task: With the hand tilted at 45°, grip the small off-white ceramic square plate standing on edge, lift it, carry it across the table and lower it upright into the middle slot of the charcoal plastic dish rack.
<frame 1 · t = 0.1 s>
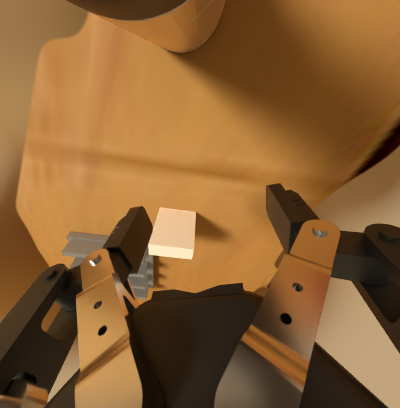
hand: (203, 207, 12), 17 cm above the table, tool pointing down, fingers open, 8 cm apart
dish rack: (118, 260, 45), on the table
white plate: (177, 214, 35), on the table
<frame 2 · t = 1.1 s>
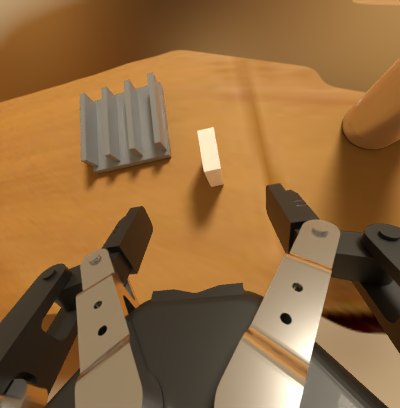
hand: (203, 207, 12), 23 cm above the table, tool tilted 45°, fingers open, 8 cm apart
dish rack: (130, 130, 42), on the table
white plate: (214, 169, 36), on the table
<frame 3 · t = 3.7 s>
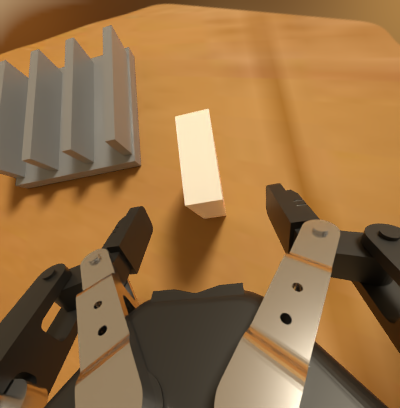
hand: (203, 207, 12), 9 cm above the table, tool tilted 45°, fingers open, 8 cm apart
dish rack: (82, 121, 27), on the table
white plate: (211, 188, 21), on the table
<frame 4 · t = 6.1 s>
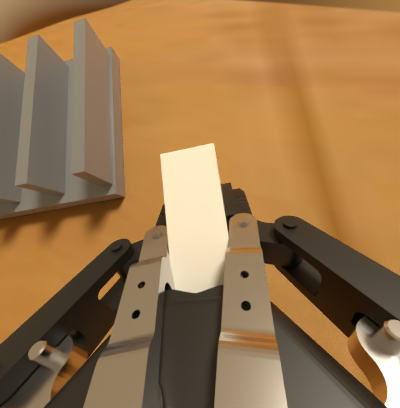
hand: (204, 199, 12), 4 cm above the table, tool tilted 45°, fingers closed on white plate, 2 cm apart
dish rack: (54, 138, 22), on the table
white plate: (214, 230, 16), on the table, touching gripper
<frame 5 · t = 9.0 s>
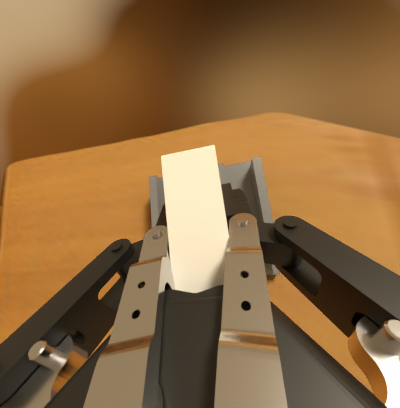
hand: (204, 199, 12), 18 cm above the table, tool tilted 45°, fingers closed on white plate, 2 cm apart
dish rack: (212, 221, 30), on the table
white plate: (214, 231, 16), point 14 cm above the table, touching gripper
when the fingers open (7 cm above the table, at t = 12.0 s): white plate drops 1 cm, resting on dish rack.
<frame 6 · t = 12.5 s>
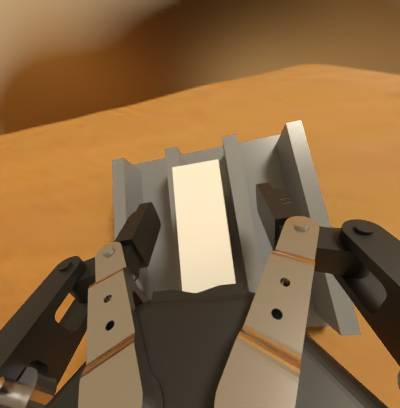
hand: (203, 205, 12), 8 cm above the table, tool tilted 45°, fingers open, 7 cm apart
dish rack: (216, 231, 19), on the table
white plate: (216, 232, 18), point 1 cm above the table, touching dish rack
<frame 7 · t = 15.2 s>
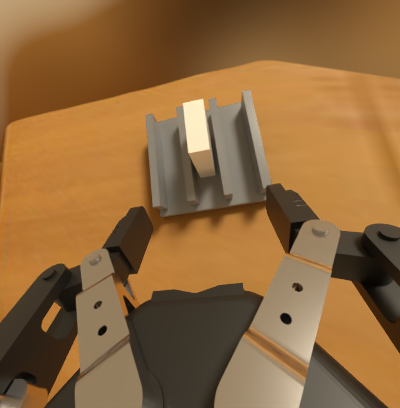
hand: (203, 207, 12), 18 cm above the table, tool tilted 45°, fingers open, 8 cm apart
dish rack: (206, 160, 32), on the table
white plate: (205, 157, 30), point 1 cm above the table, touching dish rack
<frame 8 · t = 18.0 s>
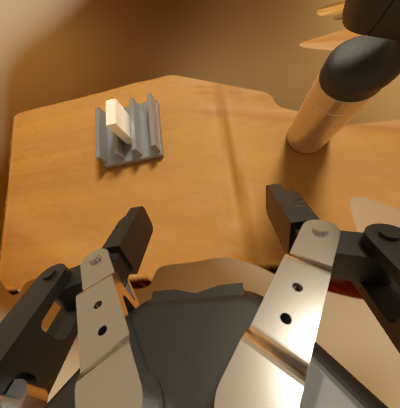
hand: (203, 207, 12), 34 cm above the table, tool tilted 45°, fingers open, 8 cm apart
dish rack: (133, 135, 54), on the table
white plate: (130, 132, 53), point 1 cm above the table, touching dish rack
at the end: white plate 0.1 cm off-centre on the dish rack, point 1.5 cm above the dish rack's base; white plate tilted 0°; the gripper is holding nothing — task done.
